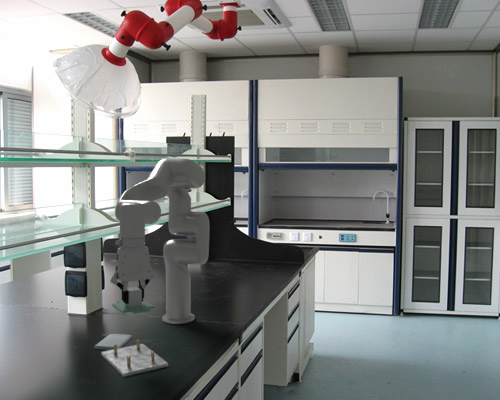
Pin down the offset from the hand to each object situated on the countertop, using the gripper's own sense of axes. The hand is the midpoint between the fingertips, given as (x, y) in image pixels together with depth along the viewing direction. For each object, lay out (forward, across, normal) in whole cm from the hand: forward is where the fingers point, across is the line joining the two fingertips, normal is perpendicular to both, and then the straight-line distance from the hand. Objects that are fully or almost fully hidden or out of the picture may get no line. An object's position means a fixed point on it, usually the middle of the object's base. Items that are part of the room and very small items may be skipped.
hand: (133, 301), depth 161 cm
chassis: (+19, 0, 0) cm, 19 cm away
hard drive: (+20, 0, +19) cm, 27 cm away
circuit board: (+2, 0, 0) cm, 2 cm away
